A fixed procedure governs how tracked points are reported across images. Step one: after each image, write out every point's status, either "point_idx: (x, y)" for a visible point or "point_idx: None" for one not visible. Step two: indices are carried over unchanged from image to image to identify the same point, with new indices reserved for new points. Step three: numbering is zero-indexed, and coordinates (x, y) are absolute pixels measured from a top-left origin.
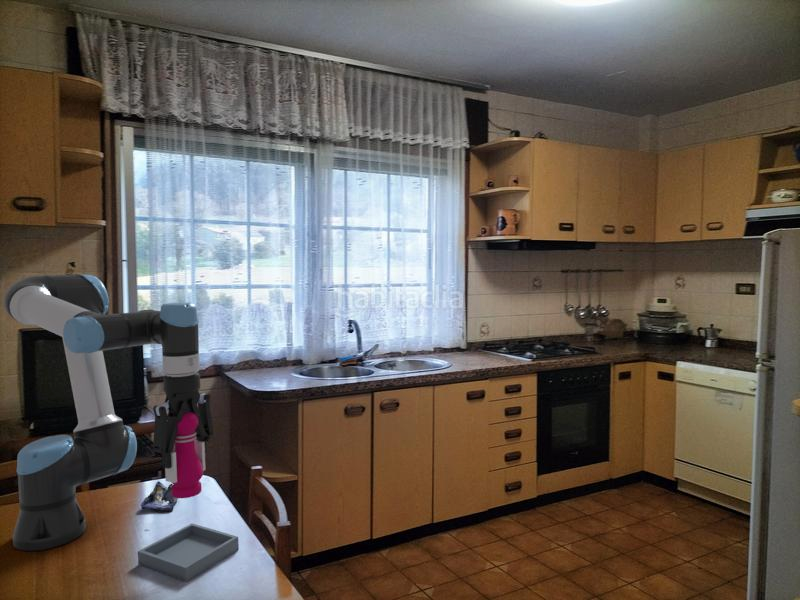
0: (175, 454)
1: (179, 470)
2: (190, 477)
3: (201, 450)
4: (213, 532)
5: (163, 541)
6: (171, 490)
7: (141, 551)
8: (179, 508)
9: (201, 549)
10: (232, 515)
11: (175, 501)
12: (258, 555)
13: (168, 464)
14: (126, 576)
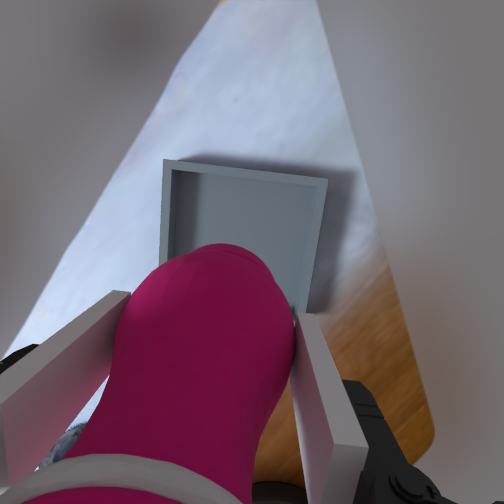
0: (333, 428)
1: (285, 336)
2: (255, 269)
3: (57, 361)
4: (168, 236)
5: None
6: (58, 460)
7: None
8: (85, 406)
9: (216, 231)
10: (54, 281)
11: (74, 429)
12: (175, 96)
13: (361, 400)
14: (340, 304)
